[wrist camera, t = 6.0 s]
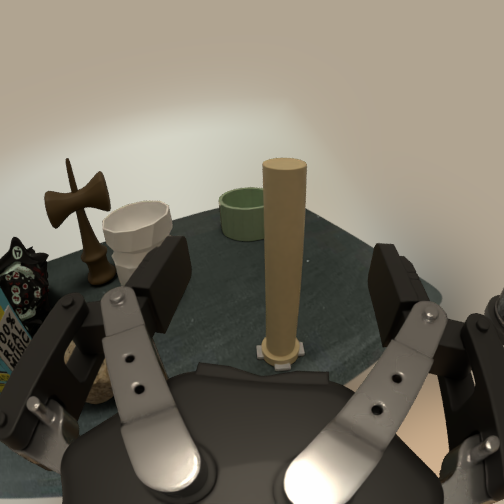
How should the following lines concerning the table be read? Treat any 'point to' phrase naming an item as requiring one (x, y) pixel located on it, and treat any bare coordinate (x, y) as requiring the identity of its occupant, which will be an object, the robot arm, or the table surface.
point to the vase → (135, 233)
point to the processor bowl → (242, 214)
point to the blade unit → (283, 258)
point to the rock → (96, 381)
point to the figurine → (25, 281)
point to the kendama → (84, 221)
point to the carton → (10, 338)
